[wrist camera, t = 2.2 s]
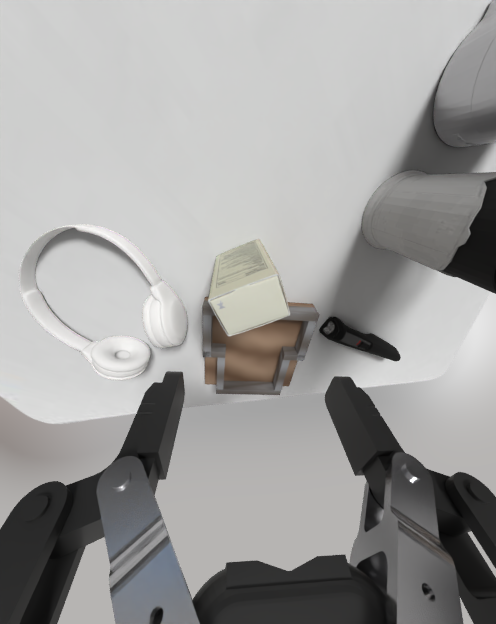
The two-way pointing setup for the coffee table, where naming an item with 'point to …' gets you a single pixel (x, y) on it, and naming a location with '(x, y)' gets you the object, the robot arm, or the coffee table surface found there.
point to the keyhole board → (256, 351)
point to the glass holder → (438, 222)
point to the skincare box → (246, 289)
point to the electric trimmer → (358, 339)
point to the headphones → (116, 349)
